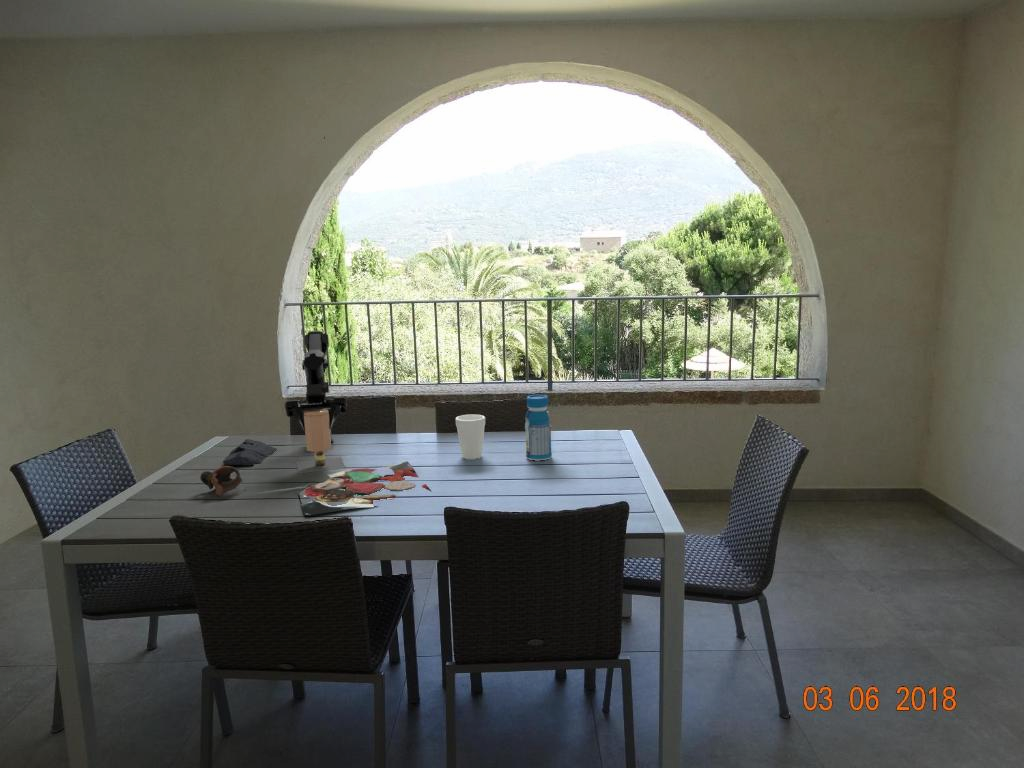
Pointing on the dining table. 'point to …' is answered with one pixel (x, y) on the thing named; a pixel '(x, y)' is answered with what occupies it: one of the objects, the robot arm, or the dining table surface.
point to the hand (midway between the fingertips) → (317, 429)
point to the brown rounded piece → (221, 479)
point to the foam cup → (471, 435)
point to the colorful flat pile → (356, 488)
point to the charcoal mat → (311, 466)
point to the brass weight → (319, 458)
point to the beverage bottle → (538, 428)
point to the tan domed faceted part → (317, 430)
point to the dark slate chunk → (249, 453)
